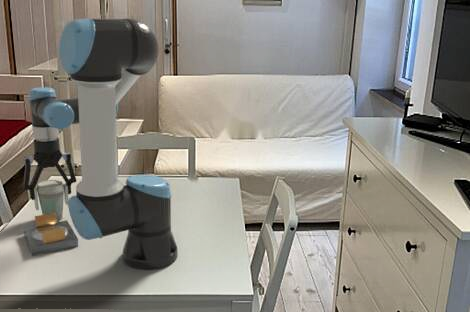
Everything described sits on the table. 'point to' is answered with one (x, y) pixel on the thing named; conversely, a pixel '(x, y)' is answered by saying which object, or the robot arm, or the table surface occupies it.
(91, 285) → the table surface
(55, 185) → the coffee cup
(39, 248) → the block
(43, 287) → the table surface
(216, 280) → the table surface
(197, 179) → the table surface
